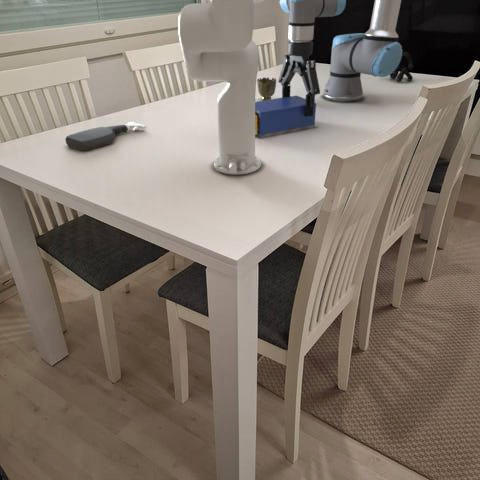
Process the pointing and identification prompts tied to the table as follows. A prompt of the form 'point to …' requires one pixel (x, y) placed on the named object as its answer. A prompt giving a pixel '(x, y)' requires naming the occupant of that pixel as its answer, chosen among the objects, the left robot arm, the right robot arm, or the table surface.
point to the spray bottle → (99, 136)
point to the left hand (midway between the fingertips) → (238, 89)
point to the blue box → (283, 116)
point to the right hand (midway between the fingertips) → (296, 110)
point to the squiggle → (403, 68)
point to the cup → (266, 87)
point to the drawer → (256, 123)
